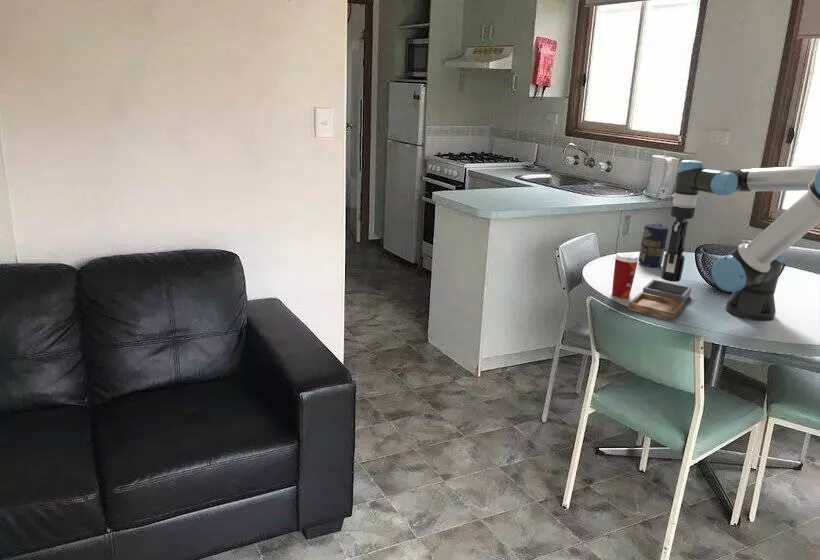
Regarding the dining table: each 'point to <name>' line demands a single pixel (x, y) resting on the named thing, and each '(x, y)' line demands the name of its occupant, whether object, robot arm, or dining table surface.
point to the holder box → (668, 290)
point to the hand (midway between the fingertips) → (672, 269)
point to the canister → (653, 245)
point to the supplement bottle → (678, 267)
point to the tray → (656, 306)
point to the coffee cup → (624, 274)
